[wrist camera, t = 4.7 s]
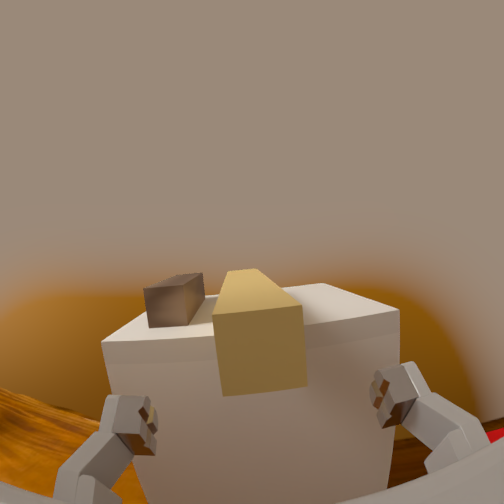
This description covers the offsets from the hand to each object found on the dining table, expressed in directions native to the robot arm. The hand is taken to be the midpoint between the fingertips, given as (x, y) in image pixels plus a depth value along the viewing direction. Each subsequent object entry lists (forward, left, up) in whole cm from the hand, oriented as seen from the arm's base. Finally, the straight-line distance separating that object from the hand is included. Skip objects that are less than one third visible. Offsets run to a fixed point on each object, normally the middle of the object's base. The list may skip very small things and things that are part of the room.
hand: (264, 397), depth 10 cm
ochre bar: (0, +12, 0) cm, 12 cm away
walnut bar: (-6, +20, 0) cm, 21 cm away
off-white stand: (0, +19, -26) cm, 32 cm away
